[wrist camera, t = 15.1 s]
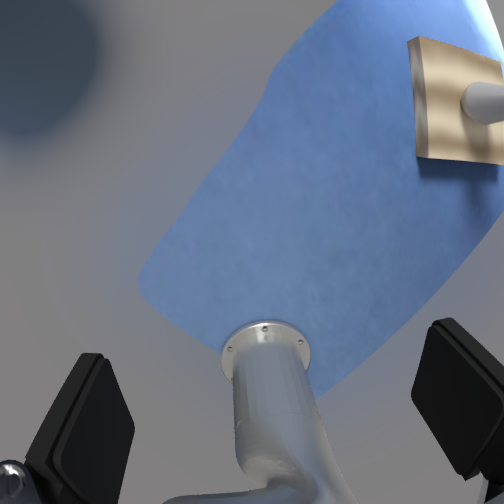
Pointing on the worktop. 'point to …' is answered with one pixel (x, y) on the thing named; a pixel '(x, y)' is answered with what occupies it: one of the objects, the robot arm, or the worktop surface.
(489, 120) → the salt shaker
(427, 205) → the worktop surface
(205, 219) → the worktop surface
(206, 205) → the worktop surface
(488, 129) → the plinth
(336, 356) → the worktop surface
